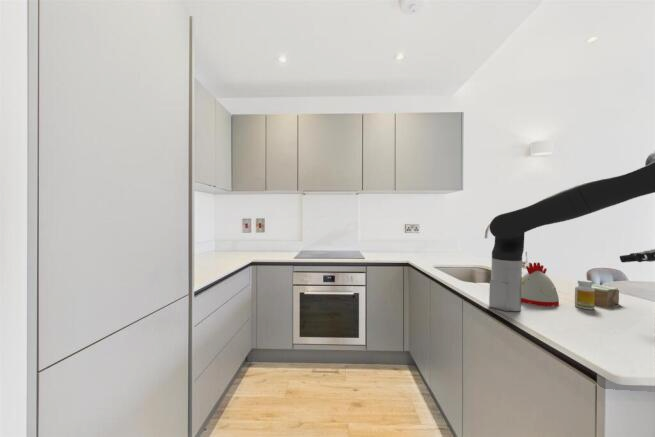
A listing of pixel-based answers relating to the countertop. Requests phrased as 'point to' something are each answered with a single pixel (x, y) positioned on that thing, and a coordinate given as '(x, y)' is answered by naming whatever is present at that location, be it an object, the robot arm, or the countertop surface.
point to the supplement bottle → (584, 295)
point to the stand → (606, 295)
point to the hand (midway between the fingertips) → (625, 258)
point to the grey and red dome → (538, 287)
